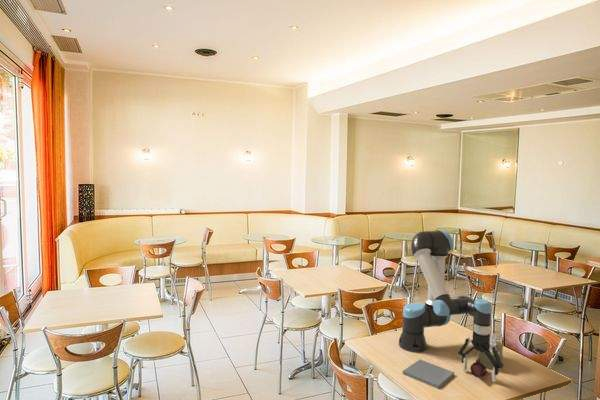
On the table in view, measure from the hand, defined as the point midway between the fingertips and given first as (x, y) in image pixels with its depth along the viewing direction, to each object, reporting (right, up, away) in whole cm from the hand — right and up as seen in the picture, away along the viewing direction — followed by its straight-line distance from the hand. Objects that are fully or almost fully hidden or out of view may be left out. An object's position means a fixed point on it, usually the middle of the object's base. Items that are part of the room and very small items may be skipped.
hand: (479, 375), depth 192 cm
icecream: (0, -1, +1) cm, 1 cm away
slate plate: (-24, 0, +1) cm, 24 cm away
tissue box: (+13, 0, +16) cm, 20 cm away
